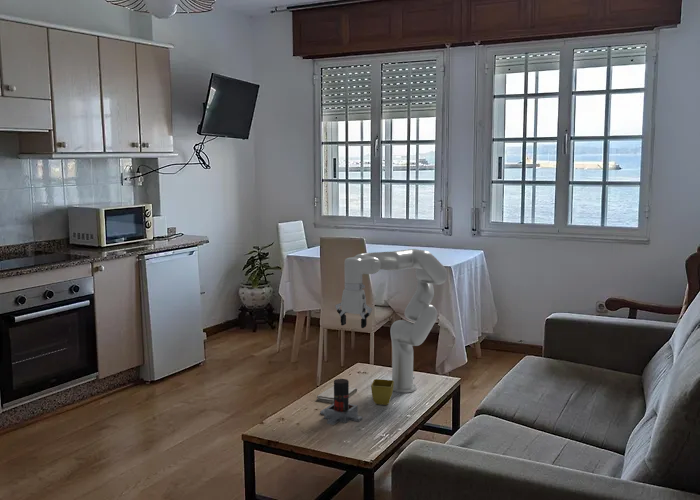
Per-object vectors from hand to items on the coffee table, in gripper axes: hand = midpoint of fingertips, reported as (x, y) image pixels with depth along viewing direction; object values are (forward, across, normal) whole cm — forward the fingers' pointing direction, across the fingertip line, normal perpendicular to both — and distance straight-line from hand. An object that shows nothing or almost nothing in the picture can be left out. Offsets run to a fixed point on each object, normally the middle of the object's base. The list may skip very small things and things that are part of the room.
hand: (353, 326), depth 283 cm
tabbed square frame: (+33, -4, +18) cm, 38 cm away
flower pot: (+34, -12, -4) cm, 36 cm away
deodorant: (+34, -4, +18) cm, 38 cm away
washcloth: (+34, +9, -2) cm, 35 cm away
